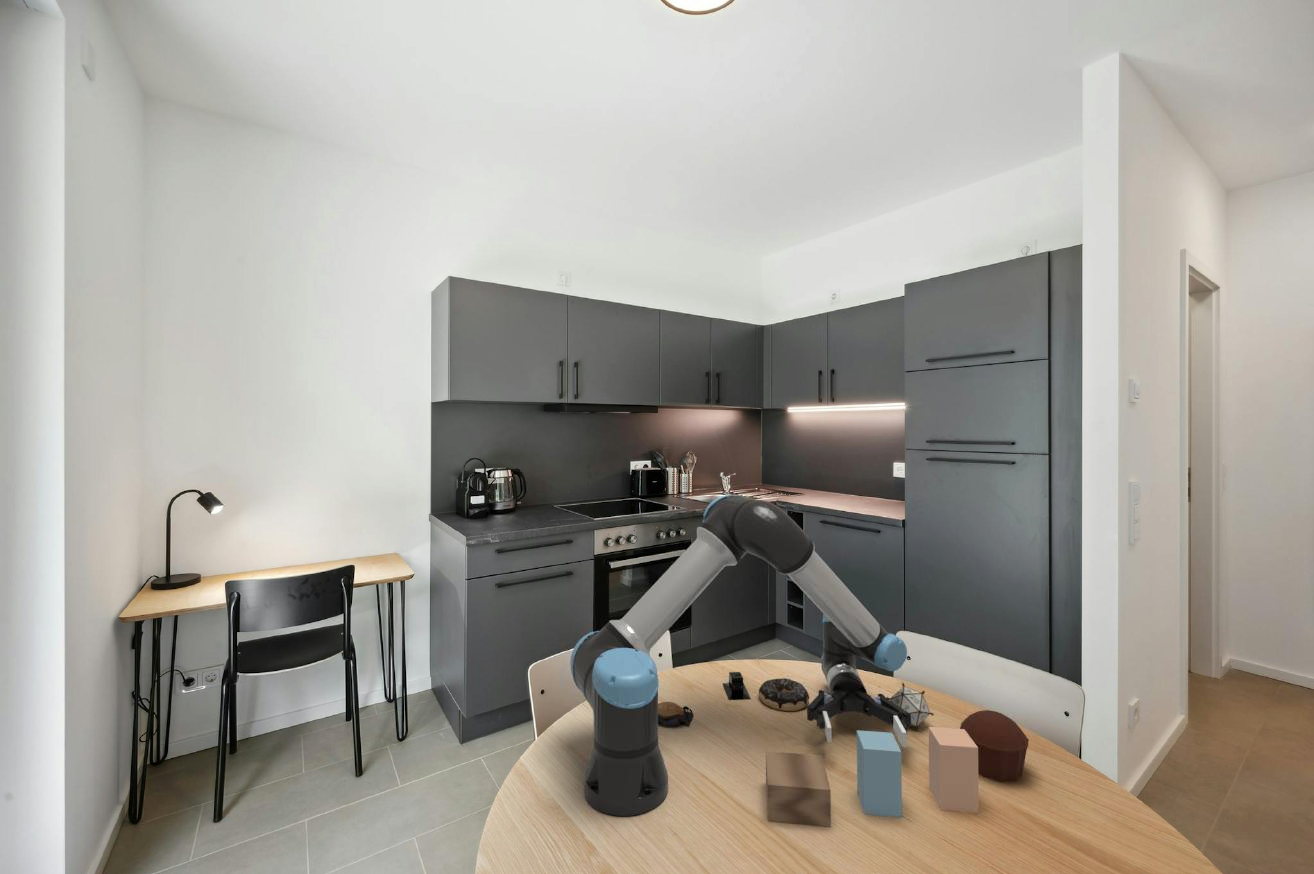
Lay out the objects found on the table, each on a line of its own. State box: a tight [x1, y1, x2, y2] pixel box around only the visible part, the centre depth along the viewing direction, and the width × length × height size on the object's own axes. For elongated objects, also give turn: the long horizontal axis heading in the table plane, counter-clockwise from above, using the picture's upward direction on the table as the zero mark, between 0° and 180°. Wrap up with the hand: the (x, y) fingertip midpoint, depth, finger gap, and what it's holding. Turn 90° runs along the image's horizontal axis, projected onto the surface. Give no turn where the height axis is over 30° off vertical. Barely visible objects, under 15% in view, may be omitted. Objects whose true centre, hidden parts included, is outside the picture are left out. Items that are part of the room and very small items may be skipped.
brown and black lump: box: [658, 701, 694, 729], centre depth 127 cm, size 11×8×4 cm
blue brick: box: [856, 729, 903, 818], centre depth 97 cm, size 6×6×11 cm
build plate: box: [721, 671, 752, 701], centre depth 140 cm, size 12×7×5 cm, turn 3°
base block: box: [765, 750, 832, 828], centre depth 97 cm, size 10×10×6 cm
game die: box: [886, 682, 935, 732], centre depth 123 cm, size 9×8×10 cm
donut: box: [758, 677, 810, 712], centre depth 135 cm, size 11×12×4 cm
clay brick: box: [928, 726, 980, 814], centre depth 98 cm, size 6×6×11 cm
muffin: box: [959, 709, 1029, 783], centre depth 107 cm, size 12×11×10 cm
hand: (866, 737), depth 106 cm, fingers open, 13 cm apart
